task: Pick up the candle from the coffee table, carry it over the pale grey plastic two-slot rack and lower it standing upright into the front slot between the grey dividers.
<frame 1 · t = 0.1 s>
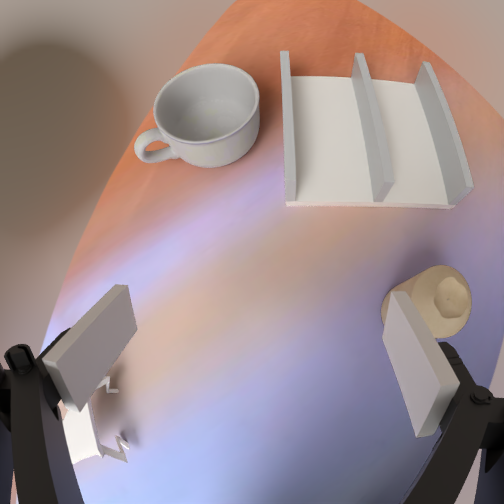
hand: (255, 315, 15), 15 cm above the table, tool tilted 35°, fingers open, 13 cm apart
slot rack: (364, 136, 34), on the table
teacup: (207, 147, 36), on the table
candle: (405, 311, 29), on the table
origami figure: (106, 421, 29), on the table
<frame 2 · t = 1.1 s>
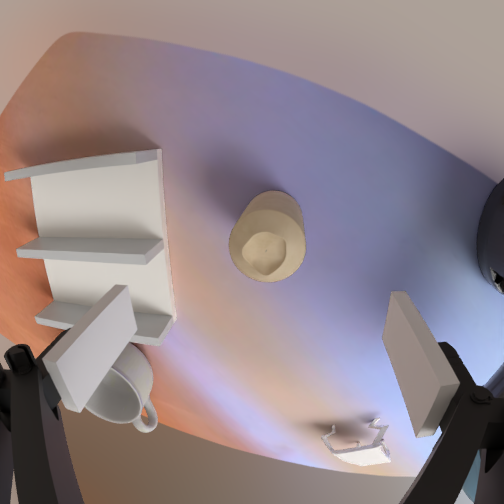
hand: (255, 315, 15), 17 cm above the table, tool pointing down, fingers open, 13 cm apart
slot rack: (98, 238, 34), on the table
teacup: (133, 365, 40), on the table
candle: (274, 217, 31), on the table
origami figure: (357, 429, 40), on the table
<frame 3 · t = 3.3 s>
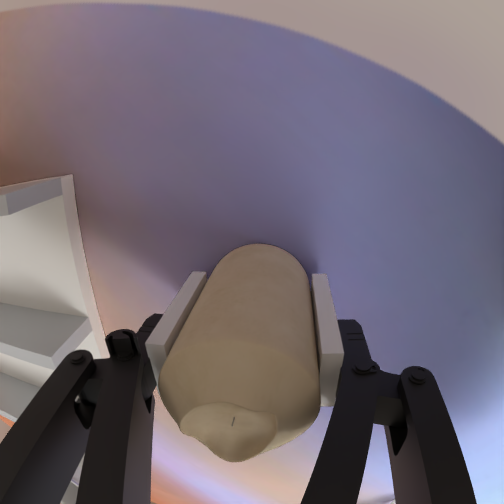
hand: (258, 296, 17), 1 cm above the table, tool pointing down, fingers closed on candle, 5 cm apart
slot rack: (17, 302, 21), on the table
teacup: (92, 444, 27), on the table
candle: (260, 287, 18), on the table, touching gripper
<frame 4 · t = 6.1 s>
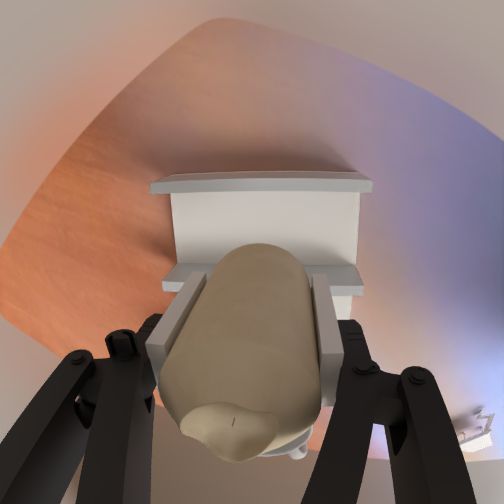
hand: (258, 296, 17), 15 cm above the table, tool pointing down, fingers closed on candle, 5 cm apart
slot rack: (265, 264, 33), on the table
teacup: (274, 392, 39), on the table
candle: (260, 287, 18), point 14 cm above the table, touching gripper
origami figure: (466, 422, 39), on the table
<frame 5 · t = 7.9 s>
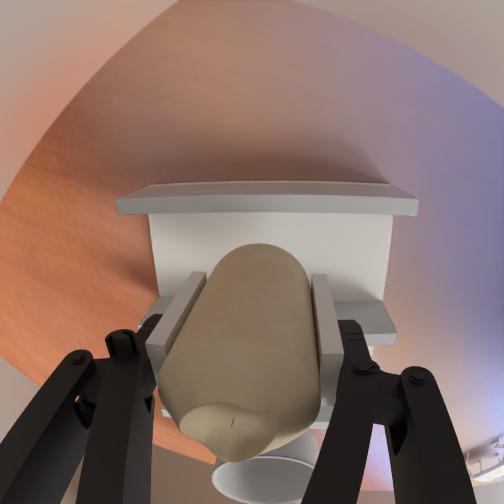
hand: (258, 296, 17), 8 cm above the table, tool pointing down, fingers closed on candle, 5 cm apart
slot rack: (270, 299, 26), on the table
teacup: (278, 435, 32), on the table
candle: (260, 287, 18), point 7 cm above the table, touching gripper
origami figure: (483, 450, 32), on the table
when the fingers open (3 cm above the table, at t = 9.3 s): candle drops 1 cm, resting on slot rack.
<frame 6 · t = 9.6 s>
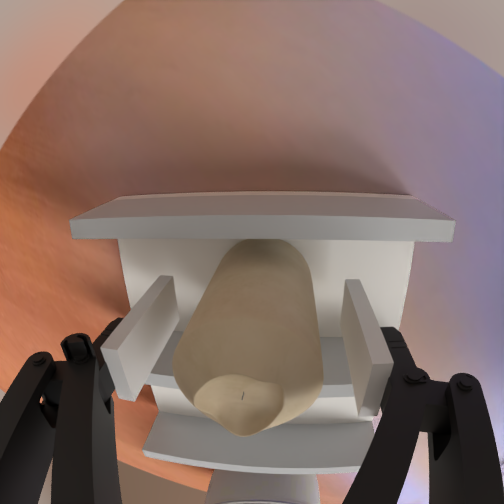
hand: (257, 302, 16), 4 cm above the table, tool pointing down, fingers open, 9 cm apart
slot rack: (264, 331, 21), on the table
teacup: (274, 467, 28), on the table
candle: (264, 278, 19), point 1 cm above the table, touching slot rack
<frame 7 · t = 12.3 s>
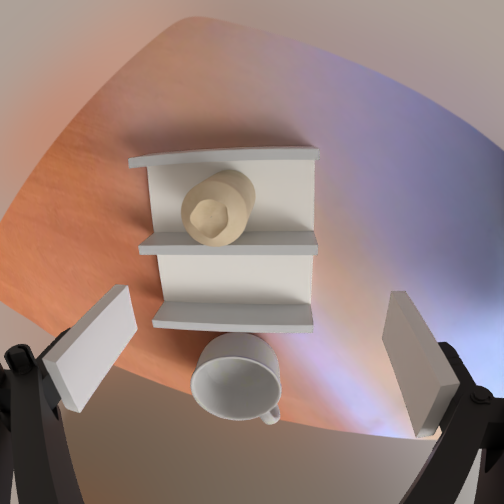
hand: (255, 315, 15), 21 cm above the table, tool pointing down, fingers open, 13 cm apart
slot rack: (232, 232, 36), on the table
teacup: (247, 359, 43), on the table
candle: (230, 194, 34), point 1 cm above the table, touching slot rack
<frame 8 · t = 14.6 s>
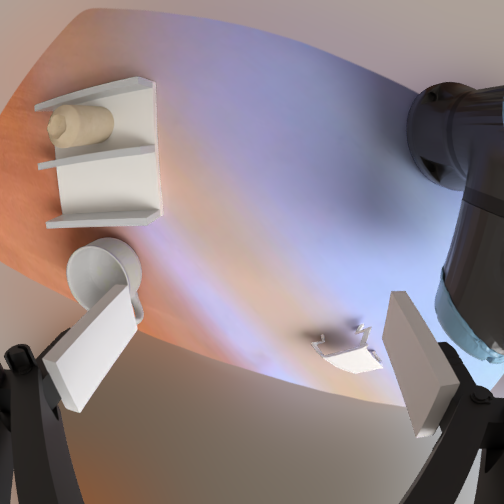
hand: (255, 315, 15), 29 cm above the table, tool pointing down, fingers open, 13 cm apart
slot rack: (104, 154, 42), on the table
teacup: (125, 270, 49), on the table
candle: (99, 125, 40), point 1 cm above the table, touching slot rack
origami figure: (346, 339, 49), on the table
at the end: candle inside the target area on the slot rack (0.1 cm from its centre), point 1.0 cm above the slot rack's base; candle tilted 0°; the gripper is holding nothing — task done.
